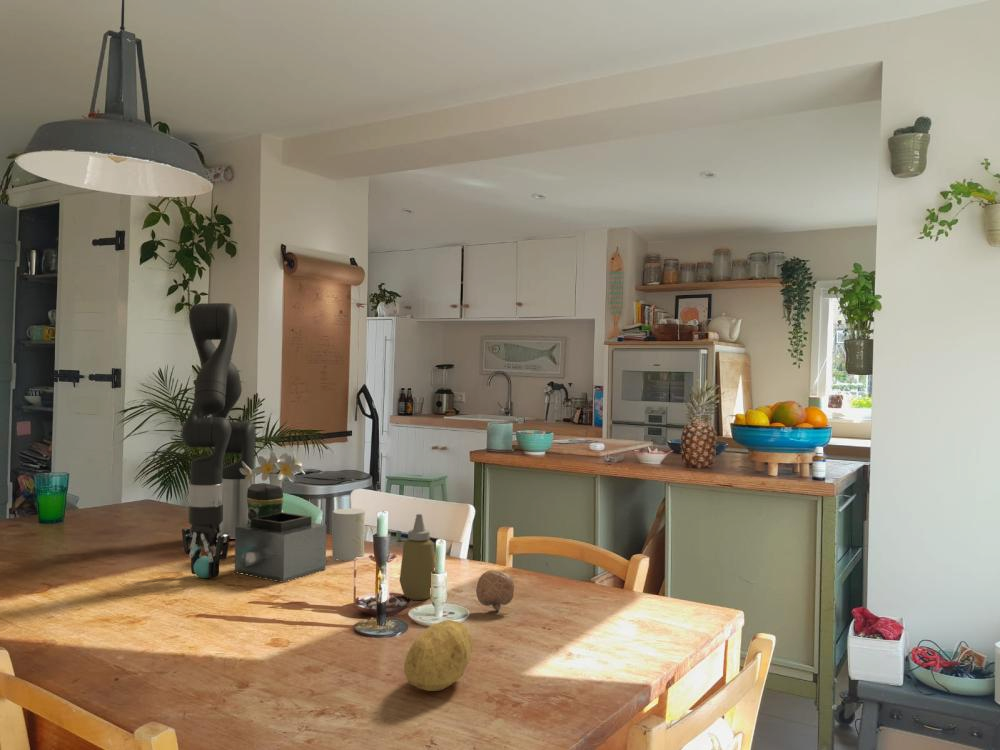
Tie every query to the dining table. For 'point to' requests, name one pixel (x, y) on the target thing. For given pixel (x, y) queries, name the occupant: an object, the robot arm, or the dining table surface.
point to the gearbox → (280, 547)
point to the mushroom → (495, 589)
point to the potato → (438, 656)
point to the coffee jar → (264, 500)
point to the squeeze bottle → (417, 562)
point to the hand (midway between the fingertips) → (204, 575)
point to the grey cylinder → (348, 533)
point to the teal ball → (202, 567)
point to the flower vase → (273, 468)
